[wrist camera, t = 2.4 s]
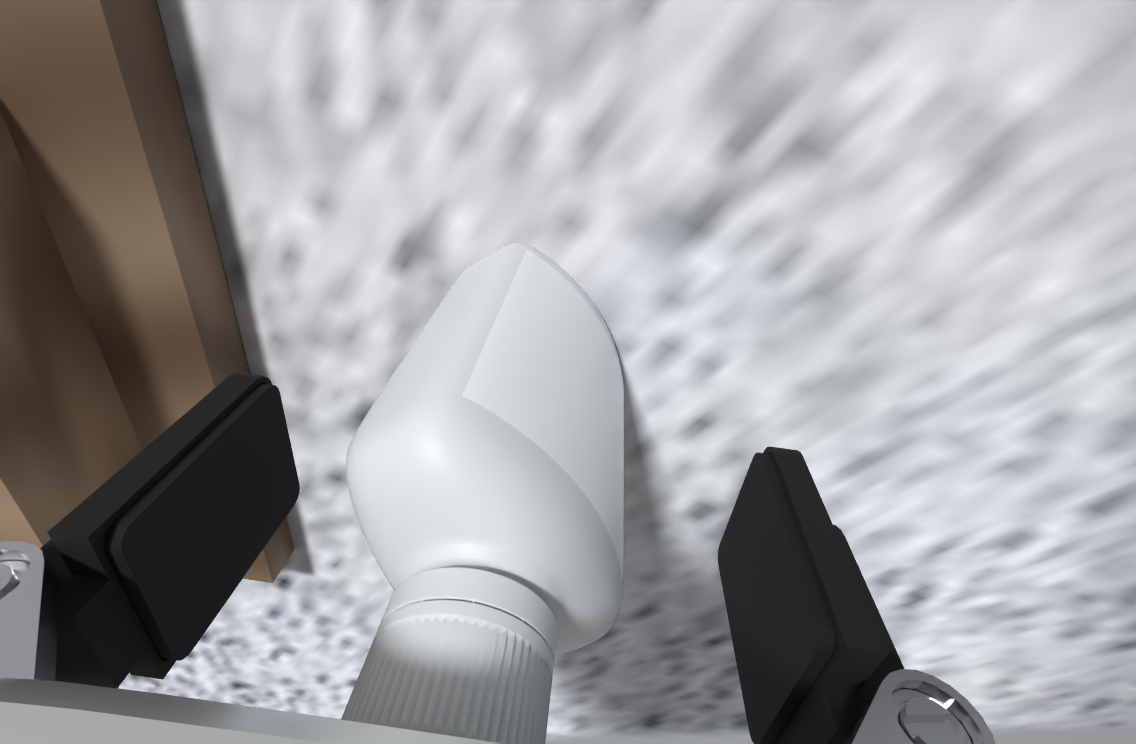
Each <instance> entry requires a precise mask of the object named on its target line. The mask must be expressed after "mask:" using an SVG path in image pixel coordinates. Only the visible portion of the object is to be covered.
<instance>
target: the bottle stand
mask: <svg viewBox="0 0 1136 744" xmlns="http://www.w3.org/2000/svg"><path fill="white" fill-rule="evenodd" d="M233 373H243V374H250V373H249V369H248V365H247V361H246V357H245V353H244V349H243V345H242V341H241V337H240V333H239V329H238V325H237V321H236V317H235V313H234V309H233V305H232V301H231V297H230V293H229V289H228V285H227V281H226V277H225V273H224V269H223V265H222V261H221V257H220V253H219V249H218V245H217V241H216V237H215V233H214V229H213V225H212V221H211V217H210V213H209V209H208V206H207V202H206V198H205V194H204V190H203V186H202V182H201V178H200V174H199V170H198V166H197V162H196V158H195V154H194V150H193V146H192V142H191V138H190V134H189V130H188V126H187V122H186V118H185V114H184V110H183V106H182V102H181V98H180V94H179V90H178V86H177V82H176V78H175V74H174V70H173V66H172V62H171V58H170V54H169V50H168V46H167V42H166V38H165V34H164V30H163V26H162V22H161V18H160V14H159V10H158V6H157V2H156V0H0V542H7V541H22V542H27V543H31V544H34V545H35V546H37V547H38V548H39V549H40V548H41V547H42V546H43V545H45V544H46V543H47V542H48V541H49V540H50V539H51V538H50V536H49V535H48V533H47V532H48V531H49V530H50V529H51V528H53V527H54V526H55V525H56V524H57V523H58V522H60V521H61V520H62V519H63V518H64V517H65V516H67V515H68V514H69V513H70V512H71V511H72V510H74V509H75V508H76V507H77V506H78V505H79V504H81V503H82V502H83V501H84V500H85V499H86V498H87V497H89V496H90V495H91V494H92V493H93V492H94V491H96V490H97V489H98V488H99V487H100V486H101V485H103V484H104V483H105V482H106V481H107V480H108V479H110V478H111V477H112V476H113V475H114V474H115V473H117V472H118V471H119V470H120V469H121V468H122V467H124V466H125V465H126V464H127V463H128V462H129V461H131V460H132V459H133V458H134V457H135V456H136V455H138V454H139V453H140V452H141V451H142V450H143V449H145V448H146V447H147V446H148V445H149V444H150V443H152V442H153V441H154V440H155V439H156V438H157V437H158V436H160V435H161V434H162V433H163V432H164V431H165V430H167V429H168V428H169V427H170V426H171V425H172V424H174V423H175V422H176V421H177V420H178V419H179V418H181V417H182V416H183V415H184V414H185V413H186V412H188V411H189V410H190V409H191V408H192V407H193V406H195V405H196V404H197V403H198V402H199V401H200V400H202V399H203V398H204V397H205V396H206V395H207V394H209V393H210V392H211V391H212V390H213V389H214V388H216V387H217V386H218V385H219V384H220V383H221V382H222V381H224V380H225V379H226V378H227V377H228V376H230V375H231V374H233ZM293 550H294V548H293V544H292V540H291V536H290V532H289V528H288V524H287V520H286V517H285V519H284V520H283V522H282V523H281V524H280V526H279V527H278V529H277V530H276V531H275V533H274V534H273V536H272V537H271V539H270V540H269V541H268V543H267V544H266V546H265V547H264V549H263V550H262V551H261V553H260V554H259V556H258V557H257V559H256V560H255V561H254V563H253V564H252V566H251V567H250V569H249V570H248V571H247V573H246V574H245V576H244V577H243V579H249V580H256V581H263V582H270V583H273V582H274V580H275V579H276V577H277V576H278V574H279V573H280V571H281V569H282V568H283V566H284V565H285V563H286V561H287V560H288V558H289V557H290V555H291V554H292V552H293Z"/></svg>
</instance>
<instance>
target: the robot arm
mask: <svg viewBox="0 0 1136 744" xmlns="http://www.w3.org/2000/svg"><path fill="white" fill-rule="evenodd" d="M299 489H300V487H299V481H298V476H297V471H296V467H295V462H294V457H293V452H292V448H291V443H290V438H289V434H288V429H287V424H286V420H285V415H284V410H283V405H282V401H281V396H280V392H279V389H278V388H277V386H274V385H272V383H271V381H270V380H269V378H267V377H265V376H257V375H250V374H243V373H233V374H231V375H230V376H228V377H227V378H226V379H225V380H224V381H222V382H221V383H220V384H219V385H218V386H217V387H216V388H214V389H213V390H212V391H211V392H210V393H209V394H207V395H206V396H205V397H204V398H203V399H202V400H200V401H199V402H198V403H197V404H196V405H195V406H193V407H192V408H191V409H190V410H189V411H188V412H186V413H185V414H184V415H183V416H182V417H181V418H179V419H178V420H177V421H176V422H175V423H174V424H172V425H171V426H170V427H169V428H168V429H167V430H165V431H164V432H163V433H162V434H161V435H160V436H158V437H157V438H156V439H155V440H154V441H153V442H152V443H150V444H149V445H148V446H147V447H146V448H145V449H143V450H142V451H141V452H140V453H139V454H138V455H136V456H135V457H134V458H133V459H132V460H131V461H129V462H128V463H127V464H126V465H125V466H124V467H122V468H121V469H120V470H119V471H118V472H117V473H115V474H114V475H113V476H112V477H111V478H110V479H108V480H107V481H106V482H105V483H104V484H103V485H101V486H100V487H99V488H98V489H97V490H96V491H94V492H93V493H92V494H91V495H90V496H89V497H87V498H86V499H85V500H84V501H83V502H82V503H81V504H79V505H78V506H77V507H76V508H75V509H74V510H72V511H71V512H70V513H69V514H68V515H67V516H65V517H64V518H63V519H62V520H61V521H60V522H58V523H57V524H56V525H55V526H54V527H53V528H51V529H50V530H49V531H48V532H47V533H48V535H49V536H50V538H51V539H50V540H49V541H48V542H47V543H46V544H45V545H43V546H42V547H41V548H40V549H39V548H38V547H37V546H35V545H34V544H31V543H27V542H22V541H7V542H0V744H503V743H496V742H489V741H483V740H476V739H469V738H462V737H455V736H449V735H442V734H435V733H428V732H422V731H415V730H408V729H401V728H395V727H388V726H381V725H374V724H367V723H360V722H354V721H347V720H340V719H333V718H326V717H319V716H313V715H306V714H299V713H292V712H284V711H277V710H270V709H263V708H256V707H249V706H242V705H235V704H228V703H221V702H214V701H207V700H200V699H193V698H186V697H179V696H172V695H165V694H157V693H149V692H141V691H133V690H125V689H119V685H120V684H121V683H122V681H123V680H124V679H125V678H126V676H127V675H128V674H129V672H130V674H131V675H137V676H144V677H150V678H157V679H164V677H165V676H166V674H167V673H168V672H169V670H170V669H171V667H172V666H173V665H174V663H175V662H176V660H179V661H180V660H182V659H184V658H185V657H186V656H188V655H189V653H190V652H191V651H192V650H193V648H194V647H195V645H196V644H197V643H198V641H199V640H200V638H201V637H202V635H203V634H204V633H205V631H206V630H207V628H208V627H209V626H210V624H211V623H212V621H213V620H214V618H215V617H216V616H217V614H218V613H219V611H220V610H221V608H222V607H223V606H224V604H225V603H226V601H227V600H228V598H229V597H230V596H231V594H232V593H233V591H234V590H235V588H236V587H237V586H238V584H239V583H240V581H241V580H242V579H243V577H244V576H245V574H246V573H247V571H248V570H249V569H250V567H251V566H252V564H253V563H254V561H255V560H256V559H257V557H258V556H259V554H260V553H261V551H262V550H263V549H264V547H265V546H266V544H267V543H268V541H269V540H270V539H271V537H272V536H273V534H274V533H275V531H276V530H277V529H278V527H279V526H280V524H281V523H282V522H283V520H284V519H285V517H286V516H287V514H288V513H289V512H290V510H291V509H292V507H293V506H294V504H295V503H296V501H297V498H298V495H299ZM718 565H719V570H720V576H721V581H722V586H723V592H724V597H725V603H726V608H727V613H728V619H729V624H730V630H731V635H732V640H733V646H734V651H735V657H736V662H737V667H738V673H739V678H740V684H741V689H742V694H743V700H744V705H745V711H746V716H747V721H748V727H749V732H750V736H751V739H752V741H753V743H754V744H996V743H995V740H994V737H993V734H992V732H991V731H990V729H989V728H988V726H987V724H986V723H985V721H984V719H983V718H982V716H981V715H980V714H979V713H978V711H977V710H976V709H975V708H974V707H973V706H972V705H971V703H970V702H969V701H968V700H967V699H966V698H965V697H963V696H962V695H961V694H960V693H959V692H957V691H956V690H955V689H954V688H953V687H951V686H950V685H948V684H947V683H945V682H943V681H941V680H940V679H938V678H936V677H934V676H933V675H930V674H927V673H924V672H921V671H918V670H909V669H904V667H903V665H902V662H901V660H900V658H899V656H898V654H897V651H896V649H895V647H894V645H893V642H892V640H891V638H890V636H889V634H888V631H887V629H886V627H885V625H884V622H883V620H882V618H881V616H880V614H879V611H878V609H877V607H876V605H875V602H874V600H873V598H872V596H871V594H870V591H869V589H868V587H867V585H866V582H865V580H864V578H863V576H862V573H861V571H860V569H859V567H858V565H857V562H856V560H855V558H854V556H853V553H852V551H851V549H850V547H849V545H848V542H847V540H846V538H845V536H844V534H843V533H842V531H841V529H839V528H838V527H837V526H836V525H833V524H832V522H831V520H830V518H829V515H828V513H827V511H826V508H825V506H824V504H823V501H822V499H821V497H820V495H819V492H818V490H817V488H816V485H815V483H814V481H813V479H812V476H811V474H810V472H809V469H808V467H807V465H806V462H805V460H804V458H803V456H802V454H801V452H799V451H798V450H791V449H783V448H776V447H767V448H766V449H765V450H764V452H763V453H756V454H755V455H754V457H753V459H752V462H751V464H750V467H749V470H748V472H747V475H746V477H745V480H744V483H743V485H742V488H741V490H740V493H739V496H738V498H737V501H736V503H735V506H734V509H733V511H732V514H731V516H730V519H729V522H728V524H727V527H726V530H725V532H724V535H723V537H722V540H721V543H720V546H719V550H718Z"/></svg>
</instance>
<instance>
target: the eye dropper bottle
mask: <svg viewBox="0 0 1136 744" xmlns="http://www.w3.org/2000/svg"><path fill="white" fill-rule="evenodd" d="M346 480H347V485H348V489H349V493H350V496H351V500H352V504H353V507H354V510H355V513H356V516H357V518H358V521H359V524H360V527H361V529H362V532H363V534H364V536H365V538H366V541H367V543H368V545H369V547H370V550H371V552H372V554H373V555H374V557H375V559H376V561H377V563H378V565H379V567H380V568H381V570H382V572H383V574H384V575H385V577H386V579H387V580H388V582H389V584H390V585H391V587H392V588H393V590H394V592H393V594H392V597H391V599H390V601H389V604H388V606H387V609H386V611H385V614H384V616H383V618H382V621H381V623H380V626H379V628H378V631H377V633H376V636H375V638H374V640H373V643H372V645H371V648H370V650H369V653H368V655H367V657H366V660H365V662H364V665H363V667H362V670H361V672H360V675H359V677H358V679H357V682H356V684H355V687H354V689H353V692H352V694H351V696H350V699H349V701H348V704H347V706H346V709H345V711H344V714H343V716H342V718H341V720H347V721H354V722H360V723H367V724H374V725H381V726H388V727H395V728H401V729H408V730H415V731H422V732H428V733H435V734H442V735H449V736H455V737H462V738H469V739H476V740H483V741H489V742H496V743H503V744H545V739H546V730H547V721H548V712H549V703H550V694H551V685H552V676H553V667H554V658H555V655H558V654H562V653H566V652H570V651H573V650H576V649H579V648H582V647H584V646H587V645H589V644H591V643H593V642H595V641H596V640H598V639H600V638H601V637H603V636H604V635H605V634H606V633H607V632H608V631H609V630H610V629H611V627H612V626H613V624H614V622H615V620H616V618H617V616H618V613H619V611H620V606H621V599H622V585H623V549H624V385H623V377H622V371H621V366H620V361H619V358H618V354H617V350H616V347H615V344H614V341H613V339H612V337H611V334H610V332H609V329H608V327H607V325H606V323H605V321H604V319H603V318H602V316H601V314H600V312H599V311H598V309H597V308H596V306H595V305H594V303H593V302H592V300H591V299H590V298H589V296H588V295H587V294H586V293H585V291H584V290H583V289H582V288H581V287H580V286H579V284H578V283H577V282H576V281H575V280H574V279H573V278H572V277H571V276H570V275H569V274H568V273H567V272H566V271H565V270H563V269H562V268H561V267H560V266H559V265H558V264H556V263H555V262H554V261H553V260H552V259H550V258H549V257H548V256H546V255H545V254H544V253H542V252H540V251H539V250H537V249H536V248H534V247H532V246H530V245H526V244H523V243H515V244H510V245H506V246H504V247H502V248H500V249H499V250H497V251H495V252H493V253H491V254H490V255H488V256H486V257H485V258H483V259H481V260H479V261H478V262H476V263H474V264H473V265H471V266H470V267H468V268H466V269H465V270H464V271H463V272H462V273H461V275H460V276H459V277H458V278H457V279H456V281H455V282H454V284H453V285H452V287H451V288H450V289H449V291H448V292H447V294H446V295H445V297H444V298H443V300H442V301H441V303H440V304H439V306H438V307H437V309H436V310H435V312H434V313H433V315H432V316H431V318H430V319H429V321H428V322H427V324H426V325H425V327H424V328H423V329H422V331H421V332H420V334H419V335H418V337H417V338H416V340H415V341H414V343H413V344H412V346H411V347H410V349H409V350H408V352H407V353H406V355H405V357H404V358H403V360H402V361H401V363H400V364H399V366H398V367H397V369H396V370H395V372H394V373H393V375H392V376H391V378H390V379H389V381H388V382H387V384H386V385H385V387H384V388H383V390H382V391H381V393H380V394H379V396H378V397H377V399H376V401H375V402H374V404H373V405H372V407H371V409H370V410H369V412H368V413H367V415H366V417H365V418H364V420H363V422H362V423H361V425H360V426H359V428H358V430H357V431H356V433H355V434H354V437H353V439H352V441H351V443H350V446H349V448H348V451H347V458H346Z"/></svg>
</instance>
